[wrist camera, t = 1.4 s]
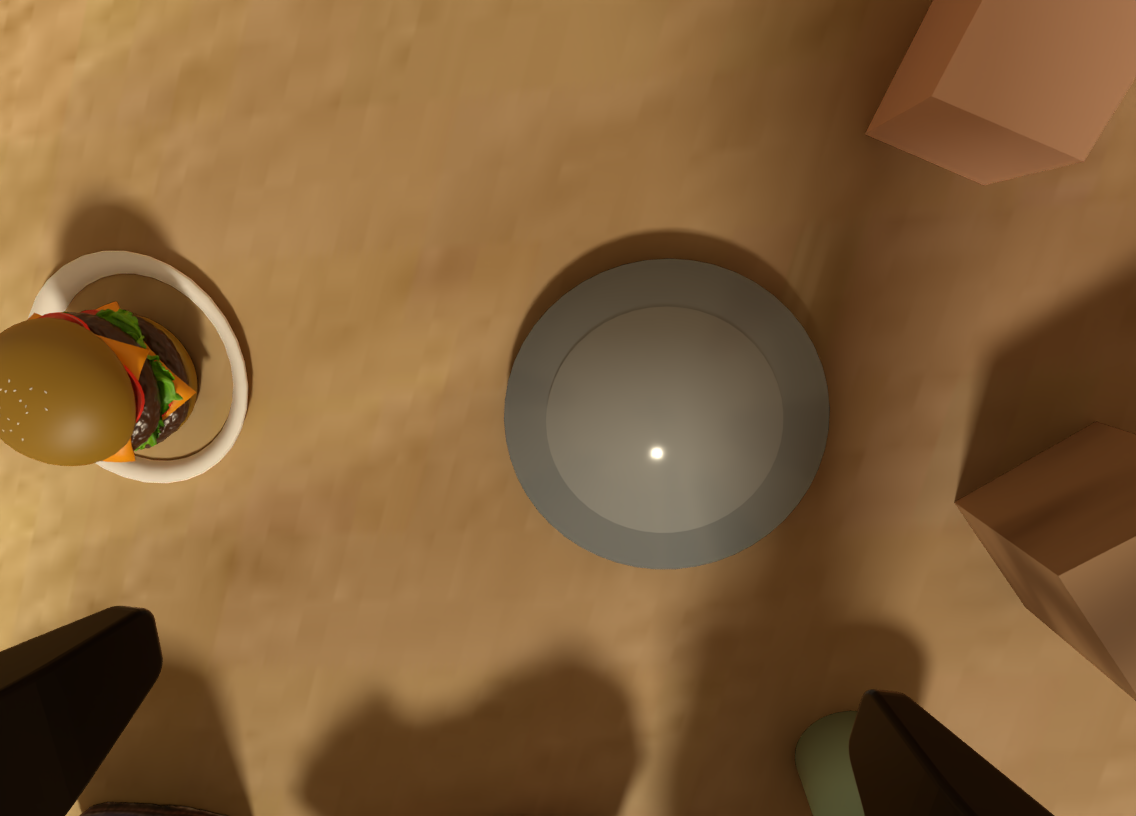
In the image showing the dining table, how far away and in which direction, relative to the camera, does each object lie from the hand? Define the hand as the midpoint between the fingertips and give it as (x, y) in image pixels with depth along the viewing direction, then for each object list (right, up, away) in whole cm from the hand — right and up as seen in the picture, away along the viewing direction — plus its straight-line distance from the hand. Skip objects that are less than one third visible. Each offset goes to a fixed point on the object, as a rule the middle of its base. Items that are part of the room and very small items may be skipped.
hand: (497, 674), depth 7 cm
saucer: (+4, +3, +13) cm, 14 cm away
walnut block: (+18, 0, +13) cm, 22 cm away
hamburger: (-15, +5, +15) cm, 22 cm away
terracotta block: (+13, +13, +10) cm, 21 cm away
